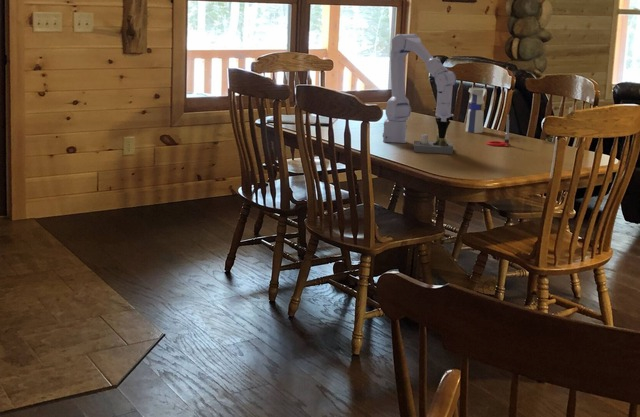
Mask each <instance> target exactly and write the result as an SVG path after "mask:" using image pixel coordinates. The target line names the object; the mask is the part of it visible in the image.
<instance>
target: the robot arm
mask: <svg viewBox="0 0 640 417" xmlns="http://www.w3.org/2000/svg"><path fill="white" fill-rule="evenodd" d="M411 52H413V53H415V54H416V56H418V57H419V58H420V59H421V60H422V61H423V62H424V64H425V69H426V70H427V71H428V72H429V74H430V75H431V76H432V77H433V78H434V83H435V85H436V90H437V92H436V93H437V94H436V107H435V108H436V110H435V116H436V117H435V118H434V120H435V122H436V126H437V125H438V133H439V138H445V135H446V131H447V128H448V129H449V125H450V124H451V121H450V118H451V117H454V114H453V113H452V112H451V111H452V100H453V99H452V98H453V86H455V85H456V82H457V76H456V74H455V72H454V71H452V70H448V68H447V67H446V66H445V65H444V64H443V63H442V62H441V59H440V58H437V57H433V56H432V54H431V53H430V52H429V51H428V49H427V48H426V47H425V45H423V43H422V39H421V38H420V37H419V36H418V35H417V34H416V33H404V34H403V33H398V34H395V36H394V37H393V38H392V39H391V50H390V81H391V97H390V98H389V99H388V100H387V102H386V108H385V115H386V118H388V120H387V119H384V120H383V121H384V122H383V132H382V138H383V139H382V142H383V143H401V144H406V143H407V138H406V133H407V121H408V119H409V117H410V116H411V114H412V107H411V105H410V99H408V97H407V96H406V83H405V80H406V77H405V58H406V56H407V55H408V54H409V53H411Z"/></svg>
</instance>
